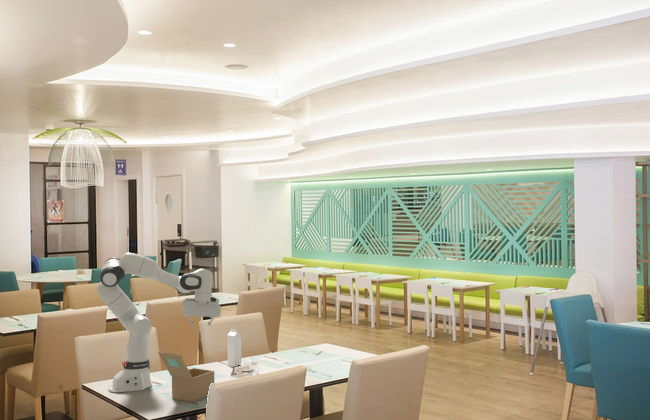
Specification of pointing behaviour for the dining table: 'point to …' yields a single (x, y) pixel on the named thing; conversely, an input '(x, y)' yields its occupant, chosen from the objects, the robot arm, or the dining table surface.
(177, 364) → the lid flap
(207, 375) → the carton
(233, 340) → the milk
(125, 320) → the robot arm
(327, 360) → the dining table surface
